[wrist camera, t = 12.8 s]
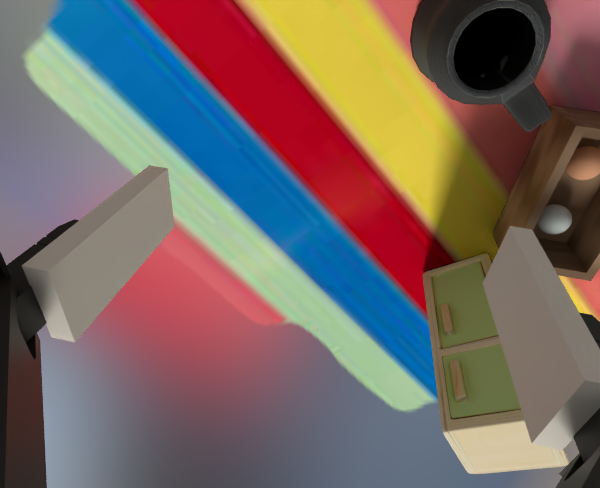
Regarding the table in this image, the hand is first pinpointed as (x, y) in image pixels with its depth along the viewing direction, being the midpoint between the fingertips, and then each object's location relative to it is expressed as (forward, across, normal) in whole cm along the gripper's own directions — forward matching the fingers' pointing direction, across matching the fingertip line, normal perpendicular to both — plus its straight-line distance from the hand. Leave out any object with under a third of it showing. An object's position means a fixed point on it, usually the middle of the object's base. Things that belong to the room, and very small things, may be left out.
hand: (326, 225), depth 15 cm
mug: (+27, +9, +4) cm, 29 cm away
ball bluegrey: (+26, +21, -10) cm, 35 cm away
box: (+27, +21, -7) cm, 35 cm away
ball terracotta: (+26, +21, -4) cm, 34 cm away
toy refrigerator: (+27, +16, -21) cm, 38 cm away
